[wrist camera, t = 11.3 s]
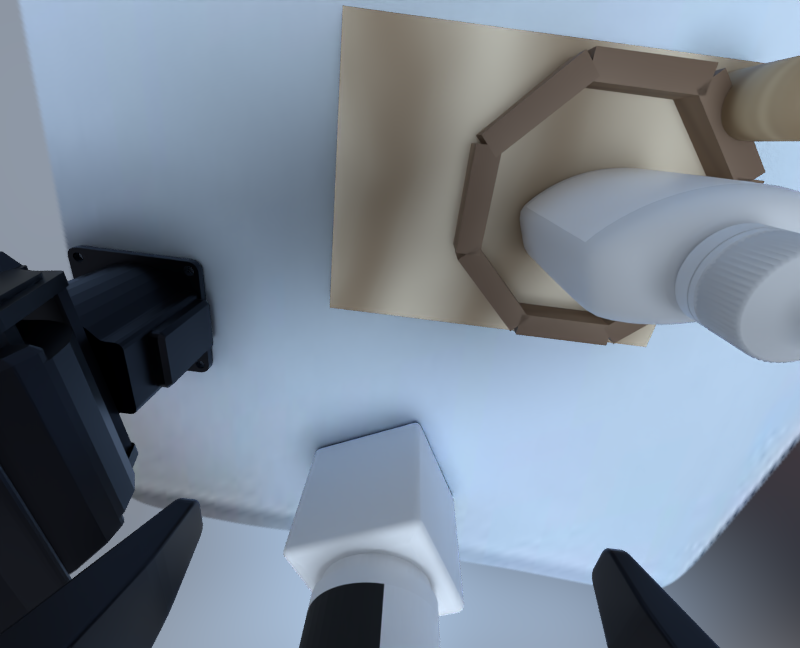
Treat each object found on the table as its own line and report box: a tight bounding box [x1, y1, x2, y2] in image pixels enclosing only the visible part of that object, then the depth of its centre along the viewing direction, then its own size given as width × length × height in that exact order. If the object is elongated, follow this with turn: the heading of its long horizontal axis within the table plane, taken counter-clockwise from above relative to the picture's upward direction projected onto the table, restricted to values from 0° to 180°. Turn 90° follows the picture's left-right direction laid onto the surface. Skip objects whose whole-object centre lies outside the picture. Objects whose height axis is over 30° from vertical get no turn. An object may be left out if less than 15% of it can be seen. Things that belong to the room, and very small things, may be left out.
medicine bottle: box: [284, 423, 464, 648], centre depth 20 cm, size 7×7×12 cm
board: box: [330, 6, 800, 347], centre depth 15 cm, size 16×12×5 cm
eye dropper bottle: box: [520, 168, 800, 363], centre depth 11 cm, size 4×6×12 cm
